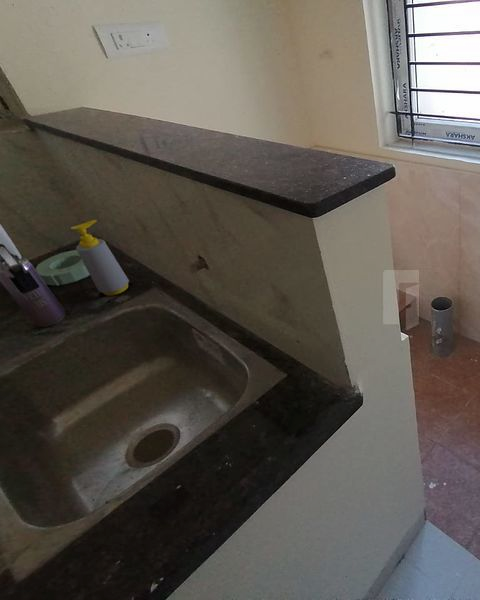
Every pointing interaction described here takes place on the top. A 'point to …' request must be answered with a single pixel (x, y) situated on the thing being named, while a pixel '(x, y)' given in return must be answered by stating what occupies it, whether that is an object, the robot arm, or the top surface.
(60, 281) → the socket pad
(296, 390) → the top surface
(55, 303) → the beverage can
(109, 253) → the soap bottle
